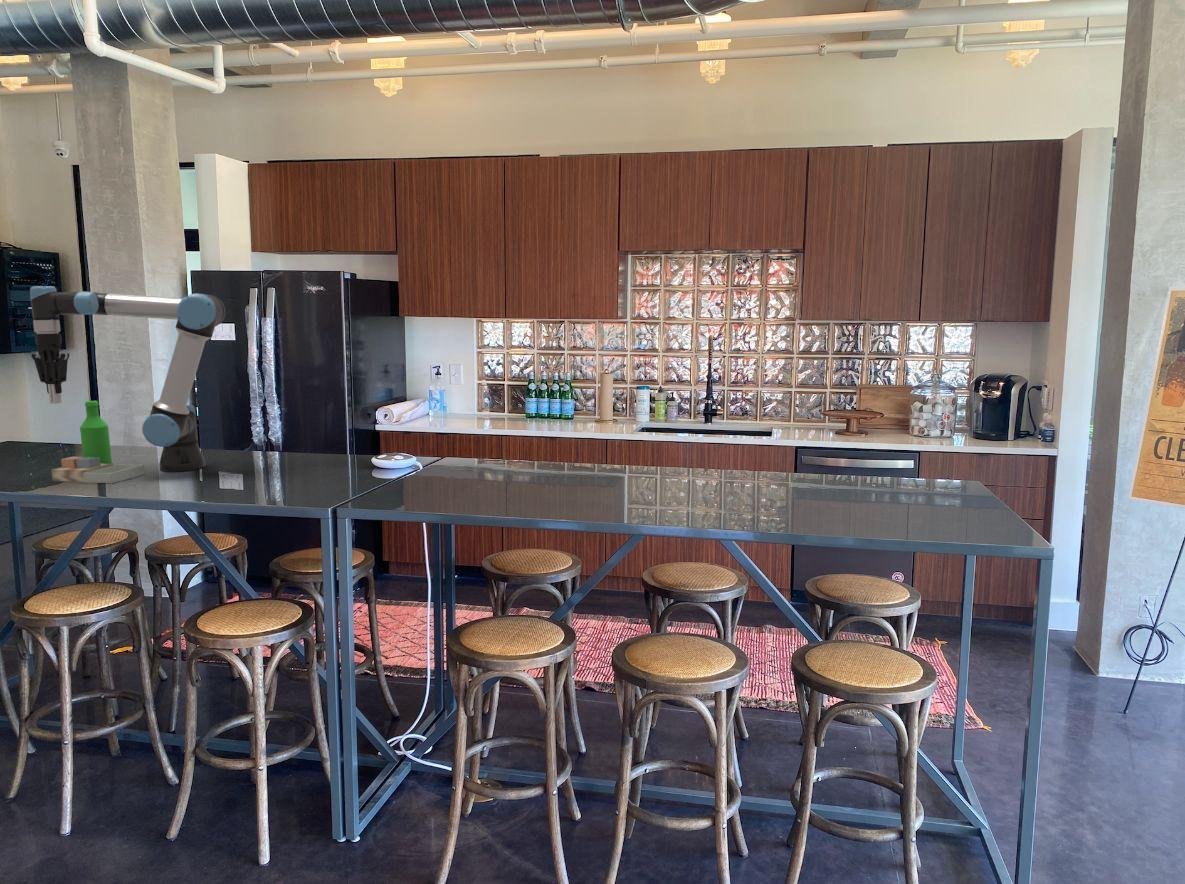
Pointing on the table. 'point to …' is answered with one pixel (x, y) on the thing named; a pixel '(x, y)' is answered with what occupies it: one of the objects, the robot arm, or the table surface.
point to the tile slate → (88, 462)
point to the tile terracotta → (70, 462)
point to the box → (113, 473)
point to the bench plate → (73, 473)
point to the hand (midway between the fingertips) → (55, 403)
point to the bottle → (95, 435)
